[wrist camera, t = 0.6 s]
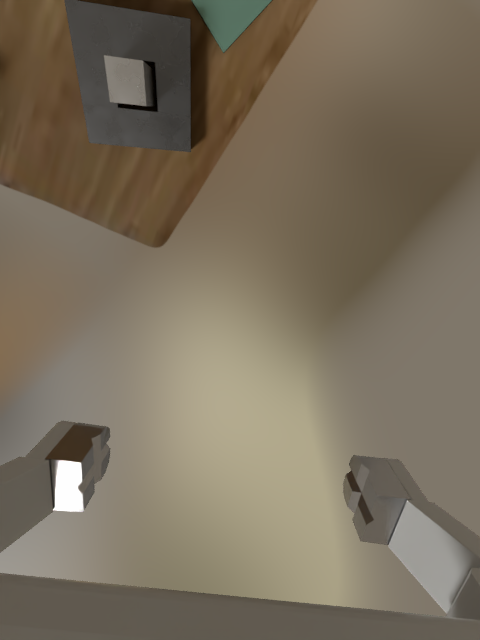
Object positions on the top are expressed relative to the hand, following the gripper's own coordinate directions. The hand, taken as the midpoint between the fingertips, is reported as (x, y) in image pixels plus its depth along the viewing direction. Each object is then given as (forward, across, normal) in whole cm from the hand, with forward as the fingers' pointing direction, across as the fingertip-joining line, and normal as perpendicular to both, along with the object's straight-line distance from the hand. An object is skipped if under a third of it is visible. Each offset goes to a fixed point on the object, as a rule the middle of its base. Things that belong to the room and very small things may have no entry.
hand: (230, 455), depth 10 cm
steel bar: (+40, +17, -24) cm, 50 cm away
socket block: (+40, +17, -24) cm, 50 cm away
